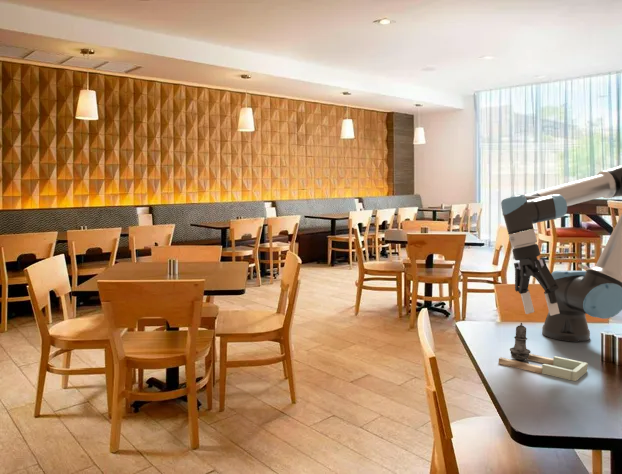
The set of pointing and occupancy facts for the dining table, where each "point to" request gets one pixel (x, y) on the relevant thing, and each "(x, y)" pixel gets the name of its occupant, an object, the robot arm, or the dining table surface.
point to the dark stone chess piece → (520, 345)
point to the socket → (573, 374)
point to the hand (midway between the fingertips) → (542, 313)
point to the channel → (526, 365)
